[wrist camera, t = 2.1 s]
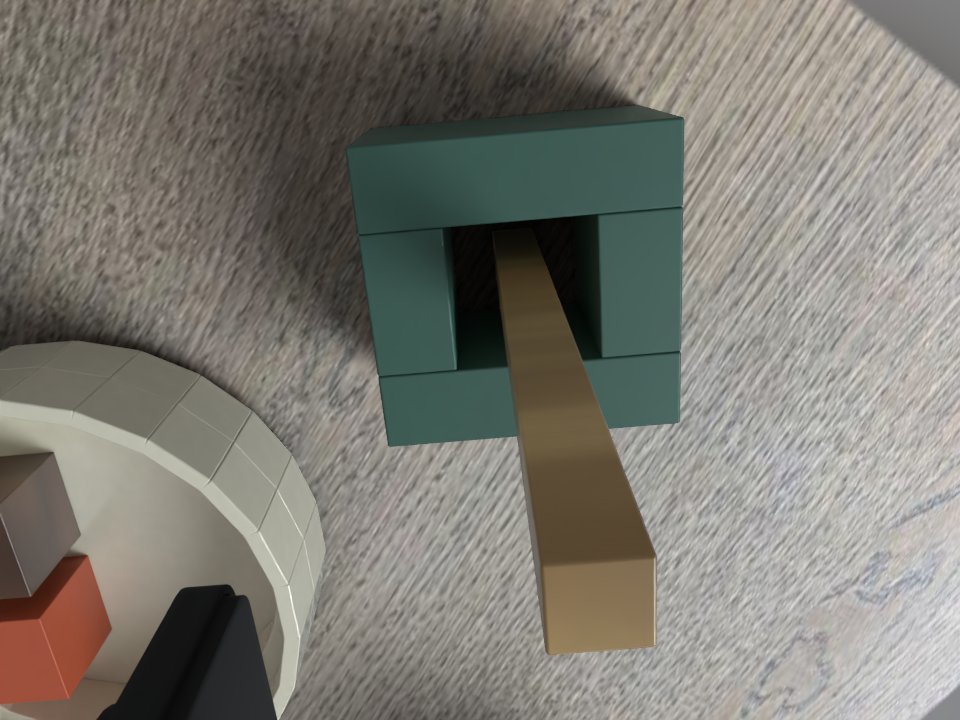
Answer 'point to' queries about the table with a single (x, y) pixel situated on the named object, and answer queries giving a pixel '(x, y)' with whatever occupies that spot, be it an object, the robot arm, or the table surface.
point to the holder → (517, 197)
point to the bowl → (164, 504)
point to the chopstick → (570, 472)
